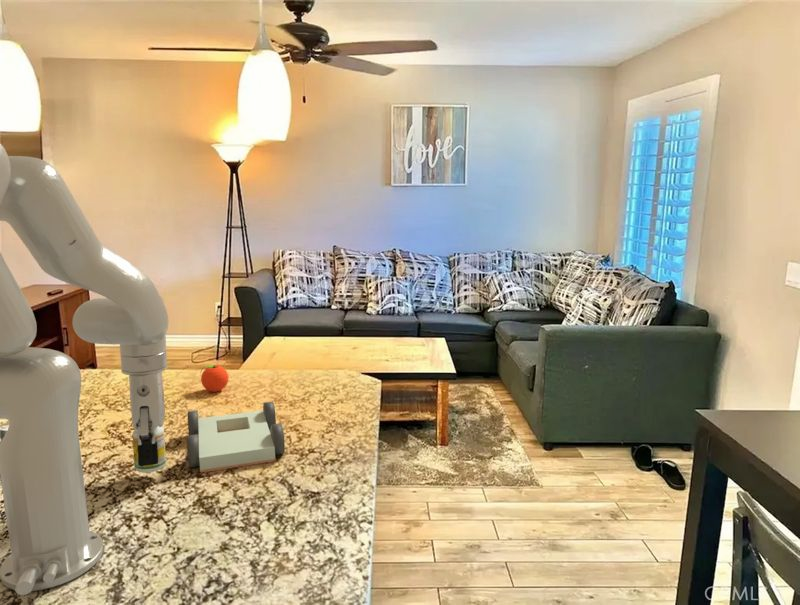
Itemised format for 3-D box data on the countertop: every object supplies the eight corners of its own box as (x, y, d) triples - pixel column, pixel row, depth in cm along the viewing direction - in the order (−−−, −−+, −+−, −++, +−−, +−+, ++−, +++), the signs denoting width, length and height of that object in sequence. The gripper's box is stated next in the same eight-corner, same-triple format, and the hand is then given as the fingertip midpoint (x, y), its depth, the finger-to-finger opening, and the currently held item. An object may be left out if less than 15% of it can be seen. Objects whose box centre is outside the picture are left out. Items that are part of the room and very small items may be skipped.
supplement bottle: (164, 471, 103) (161, 421, 102) (132, 475, 102) (129, 423, 100) (167, 459, 108) (164, 411, 107) (136, 462, 107) (133, 413, 105)
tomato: (192, 393, 149) (191, 367, 148) (208, 385, 155) (207, 360, 154) (219, 396, 147) (217, 370, 145) (234, 388, 153) (233, 362, 152)
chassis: (285, 459, 113) (284, 431, 111) (188, 474, 107) (186, 444, 105) (272, 421, 131) (271, 397, 130) (189, 432, 125) (187, 406, 124)
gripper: (164, 372, 95) (170, 474, 98) (168, 349, 111) (173, 437, 114) (114, 376, 93) (121, 481, 95) (126, 352, 109) (132, 442, 111)
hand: (149, 456), depth 105 cm, fingers closed on supplement bottle, 5 cm apart
